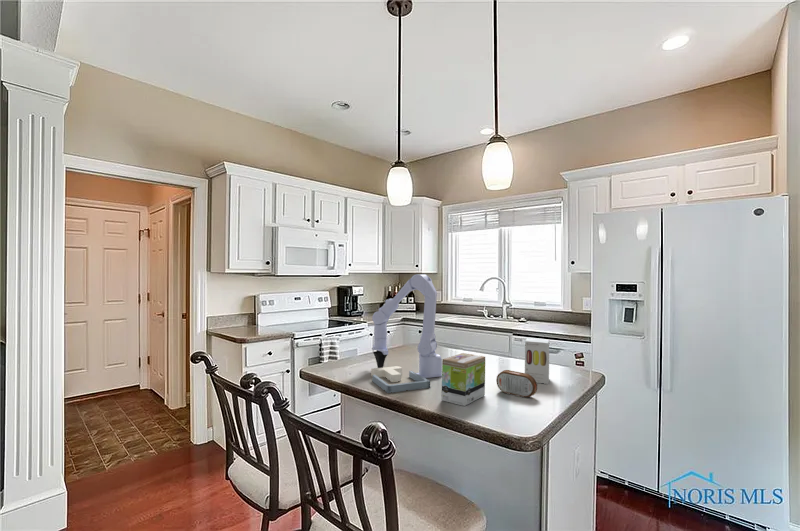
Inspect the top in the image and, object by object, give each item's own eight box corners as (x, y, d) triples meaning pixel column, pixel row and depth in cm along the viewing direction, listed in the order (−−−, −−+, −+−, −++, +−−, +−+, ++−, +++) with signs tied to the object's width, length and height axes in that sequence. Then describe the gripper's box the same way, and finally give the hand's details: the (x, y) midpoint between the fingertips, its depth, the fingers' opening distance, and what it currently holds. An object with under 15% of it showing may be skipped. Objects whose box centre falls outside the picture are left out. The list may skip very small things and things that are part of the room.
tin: (537, 398, 143) (537, 374, 143) (534, 400, 141) (534, 376, 141) (498, 389, 153) (499, 367, 153) (495, 391, 151) (495, 369, 151)
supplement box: (524, 381, 164) (524, 340, 164) (525, 376, 172) (525, 337, 173) (548, 384, 160) (548, 342, 160) (549, 378, 169) (549, 338, 169)
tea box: (466, 407, 134) (466, 362, 134) (440, 401, 140) (440, 358, 140) (485, 395, 146) (485, 355, 146) (461, 390, 152) (461, 351, 152)
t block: (398, 372, 178) (398, 366, 178) (410, 380, 166) (411, 372, 166) (371, 375, 173) (371, 368, 173) (381, 383, 161) (381, 376, 161)
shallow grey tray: (411, 376, 171) (411, 370, 171) (430, 387, 155) (430, 381, 155) (372, 381, 164) (372, 375, 164) (387, 393, 148) (387, 386, 148)
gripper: (366, 335, 186) (366, 365, 186) (377, 340, 172) (377, 372, 172) (381, 334, 189) (380, 363, 188) (392, 339, 175) (392, 370, 175)
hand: (380, 367), depth 181 cm, fingers closed
